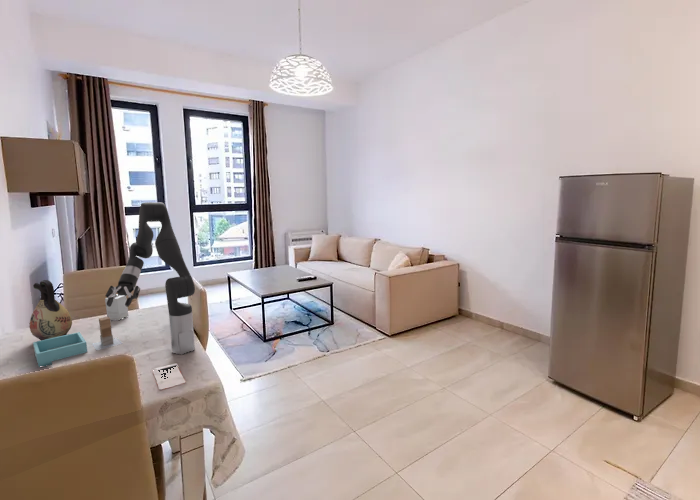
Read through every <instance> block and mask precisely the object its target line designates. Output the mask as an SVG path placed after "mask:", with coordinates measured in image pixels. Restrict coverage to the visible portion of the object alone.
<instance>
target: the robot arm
mask: <svg viewBox="0 0 700 500" xmlns="http://www.w3.org/2000/svg"><path fill="white" fill-rule="evenodd" d="M153 222H154V223H156V222H160V225H161V227H160V231H159V232H158V234H157V236H156V239H155V242H154V247H155V249H156V251H157V254H158V255H157V256H158V257H159V258H160V260H162V262H164V263H165V264H166V265H167V266H169V267H170V268H172V269H173V270H174V271H175V272H176V274H177V275H178V276H174V277H169V278H167V279H166V281H165V284H164V285H165V288H164V289H165V294H166V300H167V301H166V302H167V309H168V318H169V319H168V320H169V330H170V331H169V332H170V344H171V352H172V354H174V353H176V354H175V355H180V354H181V355H184V354H183V353H185V354H187V353H186V352H188V353H190V352H189V351H191V352H194V351H195V349H196V348H195V347H196V346H195V332H194V321H193V318H194V317H193V316H194V315H193V305H191V304H189V303H187V302H186V303H184V302H179V300H178V299H183V298H186V297H190V296H193V295H195V292H196V288H195V282H194V280H193V277H192V275H191V273H190V271H189V269H188V267H187V265H186V263H185V260H184V257H183V254H182V251H181V248H180V245H179V242H178V239H177V237H176V234H175V233H174V229H173V226H172V222H171V219H170V215H169V211H168V208H167V206H166V204H165V203H164V202H159V201H158V202H157V201H155V202H153V201H151V202H150V201H149V202H148V201H147V202H142V203H140V206H139V212H138V230H137V236H136V238H135V242H133V243H131V245H130V247H129V255H128V256H129V257H128V261H127V263H126V265H125V268H124V269H123V271H122V273H121V274H120V278H119V280H118V282H117V285H116V286H113V285H110V286H109V288H108V290H107V292H106V293H105V298H108V301H107V303H105V305H106V304H107V306H108V307H111V305H112V303H113V299H115V298H116V297H118V296H122V295H125V296H126V298H127V300H126V303H125V306H126V307H128V308H129V306H130V305H132V302H133V300H134V299H136V300H137V299H138V298H139V295H140V292H141V288H140V286H138V285H137V283H138V281H139V278H140V275H141V272H142V270H143V267H144V264H145V263H144V261H143V259H149V258H150V257H152V255H153V244H152V243H153V240H154V236H155V235H154V234H155V233H154V231H153V229H152V228H151V226H149V224H148V223H153ZM141 258H142V259H141ZM193 350H194V351H193Z"/></svg>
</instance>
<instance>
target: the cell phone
mask: <svg viewBox="0 0 700 500" xmlns="http://www.w3.org/2000/svg"><path fill="white" fill-rule="evenodd" d="M176 366H178V367H179V364H178V363H176V362H175V363H172V364H168V365H167V364H166V365H164V366H159V367H156V368H154V369H157V370H158V369H160V370H163V372H164V370H166V371H167V373H168V369H170V370H171V368H173V367H176ZM173 369H174V368H173ZM152 370H153V369H152ZM160 370H158V371H159V372H160ZM153 371H154V370H153ZM153 371H152V372H153ZM170 373H171V371H170ZM163 374H164V377H166V376H165V375H166V373H163ZM163 374H161V375H163ZM162 377H163V376H162ZM162 377H161V378H162ZM167 378H168V377H167ZM164 379H166V378H164Z"/></svg>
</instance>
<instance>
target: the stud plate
mask: <svg viewBox="0 0 700 500" xmlns="http://www.w3.org/2000/svg"><path fill="white" fill-rule="evenodd" d="M113 343H114V344H110V345H106V346H102V344H101V341H97V342H94V343H93V342H92V343H91V345H92V347H93V348H94V350H96V351H100V350H104V349H107V348H108V349H109V348H111V347H112V348H113V347H114V346H115V347H116V346H120V345H123V344H124V343H123V342H122V341H121V340H120V339H119V338H118V337H113Z"/></svg>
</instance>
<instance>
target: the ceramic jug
mask: <svg viewBox="0 0 700 500" xmlns="http://www.w3.org/2000/svg"><path fill="white" fill-rule="evenodd" d="M33 289H35V290H38V291H39V292H40V299H39V301H38V303H37V304H36V306H35V308H34V310H33V311H32V313H31V316H30V319H29V322H28V323H29V326H28V327H29V330H30V333H31V335H32V336H33V337H35V338H37V339H38V340H39V341H41V340H46V339H50V338H55V337H59V336H64V335H68V333H69V332H70V330H71V328H72V325H73V319H72V317H71V314H70V312H69V311H68V309H67V308H66V307H65V306H64V305H63V304H62V303H61V302H59V301H58V300H56V297H55V289H54V285H53V283H52V282H51V281H50V280H48V279H41V281H40V282H39V283H38V282H34V283H33Z"/></svg>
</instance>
